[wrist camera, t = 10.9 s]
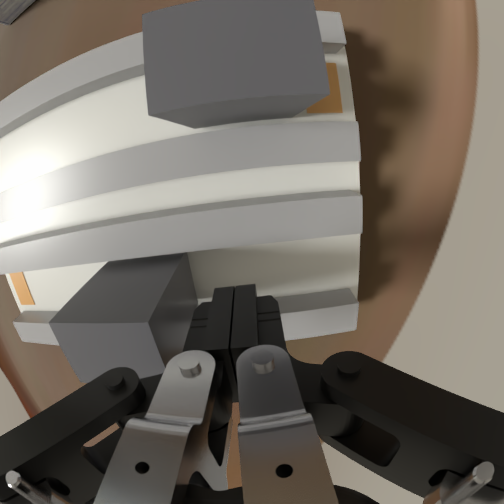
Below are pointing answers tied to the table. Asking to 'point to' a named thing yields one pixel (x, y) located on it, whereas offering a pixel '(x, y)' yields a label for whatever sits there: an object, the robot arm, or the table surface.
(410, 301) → the table surface
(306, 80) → the inner tab
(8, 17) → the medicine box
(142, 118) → the switch board
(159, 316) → the grey slider block
